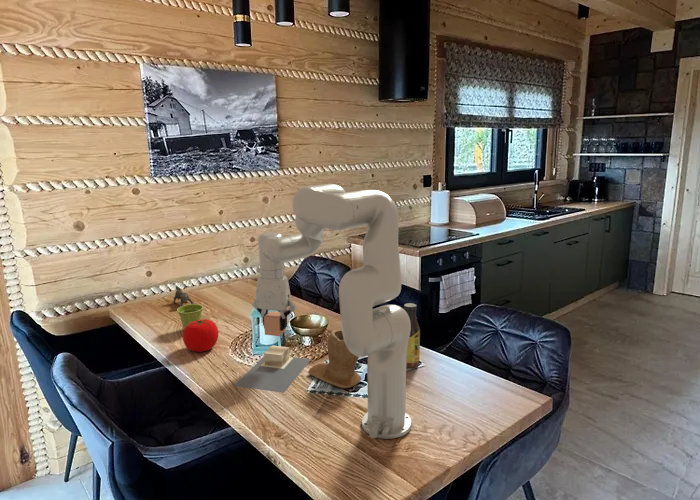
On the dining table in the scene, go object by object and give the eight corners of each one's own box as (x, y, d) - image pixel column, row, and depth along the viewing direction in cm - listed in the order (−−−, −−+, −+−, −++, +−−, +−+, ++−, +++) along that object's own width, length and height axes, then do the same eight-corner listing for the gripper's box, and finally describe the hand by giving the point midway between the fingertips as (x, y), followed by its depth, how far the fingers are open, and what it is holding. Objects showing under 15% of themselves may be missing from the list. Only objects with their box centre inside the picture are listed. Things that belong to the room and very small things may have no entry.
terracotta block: (279, 336, 154) (278, 318, 153) (264, 334, 156) (263, 316, 154) (285, 330, 159) (285, 312, 158) (271, 328, 160) (270, 311, 159)
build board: (284, 396, 141) (284, 392, 140) (233, 388, 145) (233, 385, 145) (311, 362, 161) (311, 359, 161) (266, 356, 166) (266, 353, 165)
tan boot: (370, 379, 149) (370, 333, 146) (343, 395, 141) (342, 346, 137) (334, 364, 159) (333, 320, 156) (307, 378, 151) (305, 332, 147)
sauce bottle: (418, 369, 155) (419, 309, 150) (398, 368, 156) (399, 308, 152) (420, 360, 161) (421, 302, 157) (400, 358, 162) (401, 301, 158)
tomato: (192, 359, 165) (189, 329, 162) (179, 348, 173) (176, 320, 171) (225, 349, 172) (223, 320, 170) (211, 338, 181) (209, 311, 178)
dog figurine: (171, 303, 220) (169, 287, 218) (183, 300, 224) (182, 284, 222) (182, 310, 211) (180, 293, 209) (195, 306, 215) (193, 290, 213)
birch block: (282, 366, 156) (281, 355, 155) (264, 364, 158) (263, 353, 157) (289, 358, 161) (289, 347, 161) (272, 356, 163) (272, 345, 162)
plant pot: (206, 332, 187) (204, 310, 185) (180, 336, 184) (177, 314, 182) (203, 323, 196) (201, 302, 194) (178, 327, 192) (176, 306, 190)
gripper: (241, 274, 151) (245, 330, 156) (293, 278, 147) (295, 335, 151) (253, 267, 158) (256, 321, 163) (302, 271, 154) (304, 326, 158)
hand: (275, 327), depth 157 cm, fingers closed on terracotta block, 4 cm apart
